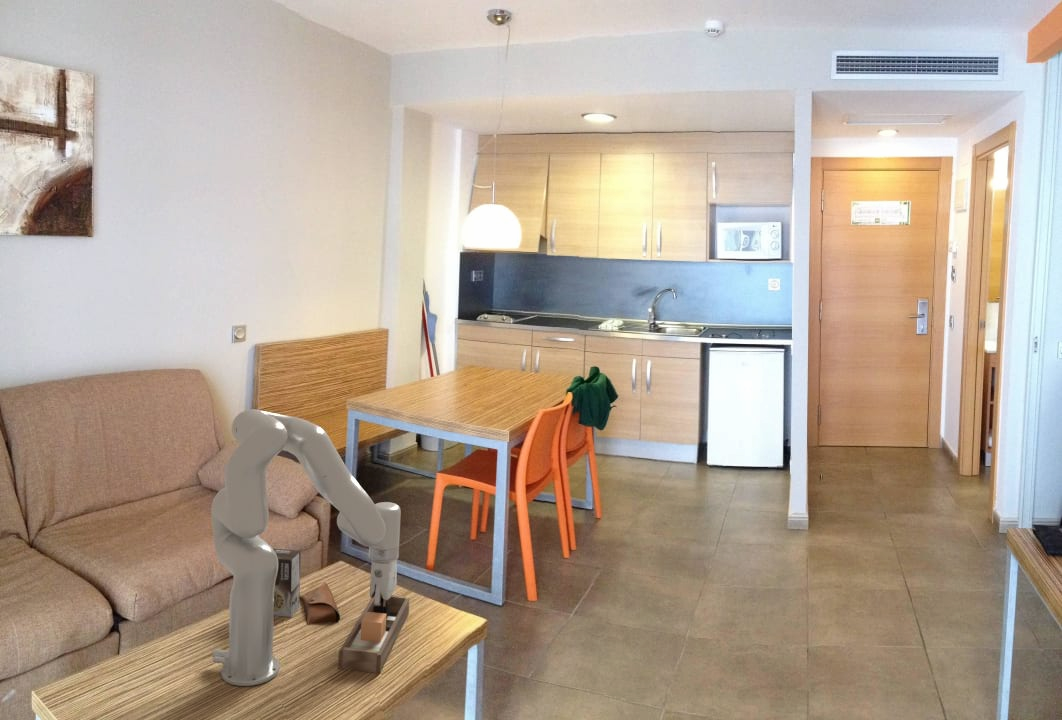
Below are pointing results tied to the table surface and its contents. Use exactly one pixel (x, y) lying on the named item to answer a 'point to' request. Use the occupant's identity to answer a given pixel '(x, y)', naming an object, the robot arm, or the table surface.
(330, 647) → the table surface
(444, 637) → the table surface
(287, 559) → the coffee box
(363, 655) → the trap box
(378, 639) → the block
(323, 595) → the sunglasses case
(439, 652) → the table surface
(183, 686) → the table surface
